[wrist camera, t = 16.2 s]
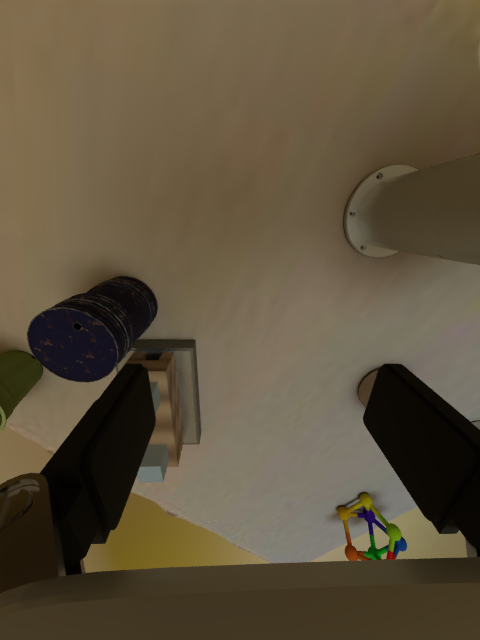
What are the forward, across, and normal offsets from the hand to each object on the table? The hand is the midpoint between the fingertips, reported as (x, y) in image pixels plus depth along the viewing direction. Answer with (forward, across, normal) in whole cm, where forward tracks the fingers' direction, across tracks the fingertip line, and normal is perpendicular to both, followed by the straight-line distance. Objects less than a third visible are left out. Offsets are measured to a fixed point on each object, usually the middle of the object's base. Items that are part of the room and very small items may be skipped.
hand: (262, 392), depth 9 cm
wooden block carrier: (+27, +15, +26) cm, 40 cm away
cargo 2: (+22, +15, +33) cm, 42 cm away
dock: (+30, +15, +26) cm, 43 cm away
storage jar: (+31, +19, +7) cm, 37 cm away
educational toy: (+31, -37, +68) cm, 83 cm away
